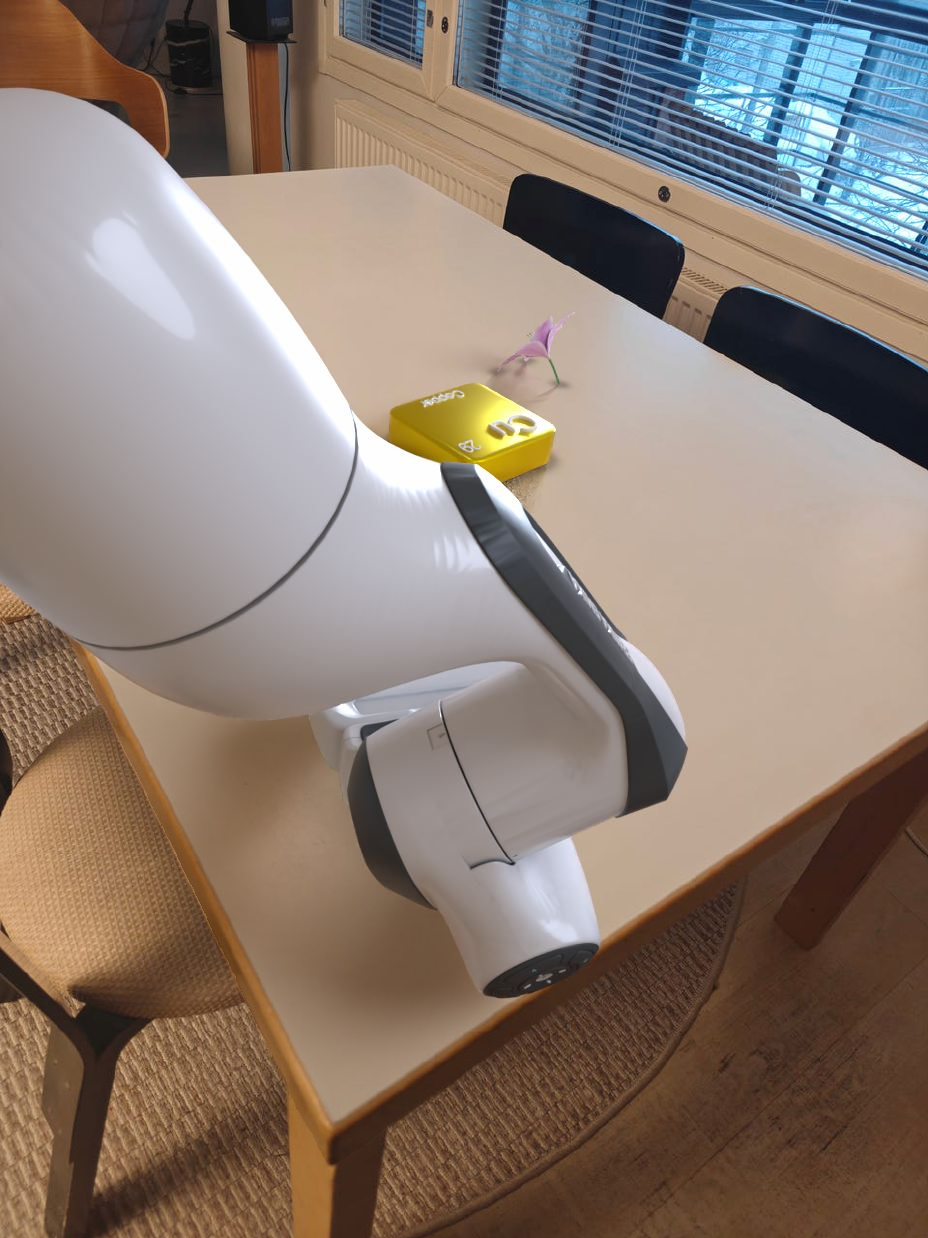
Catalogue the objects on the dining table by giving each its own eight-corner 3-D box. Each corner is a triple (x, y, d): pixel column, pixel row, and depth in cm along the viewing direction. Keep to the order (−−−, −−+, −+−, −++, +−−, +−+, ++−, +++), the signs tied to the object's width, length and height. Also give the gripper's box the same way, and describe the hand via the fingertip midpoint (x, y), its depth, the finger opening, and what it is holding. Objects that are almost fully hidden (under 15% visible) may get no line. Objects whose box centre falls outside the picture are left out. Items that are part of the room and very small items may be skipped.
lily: (567, 365, 127) (547, 301, 123) (609, 368, 116) (588, 298, 112) (498, 399, 124) (475, 335, 120) (534, 405, 114) (510, 335, 110)
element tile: (472, 410, 111) (476, 375, 108) (557, 461, 103) (564, 425, 100) (380, 441, 102) (382, 404, 99) (465, 499, 95) (470, 461, 92)
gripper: (617, 709, 60) (551, 585, 70) (321, 749, 54) (295, 609, 64) (598, 767, 64) (538, 642, 74) (322, 810, 58) (297, 669, 68)
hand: (423, 627), depth 69 cm, fingers open, 8 cm apart
